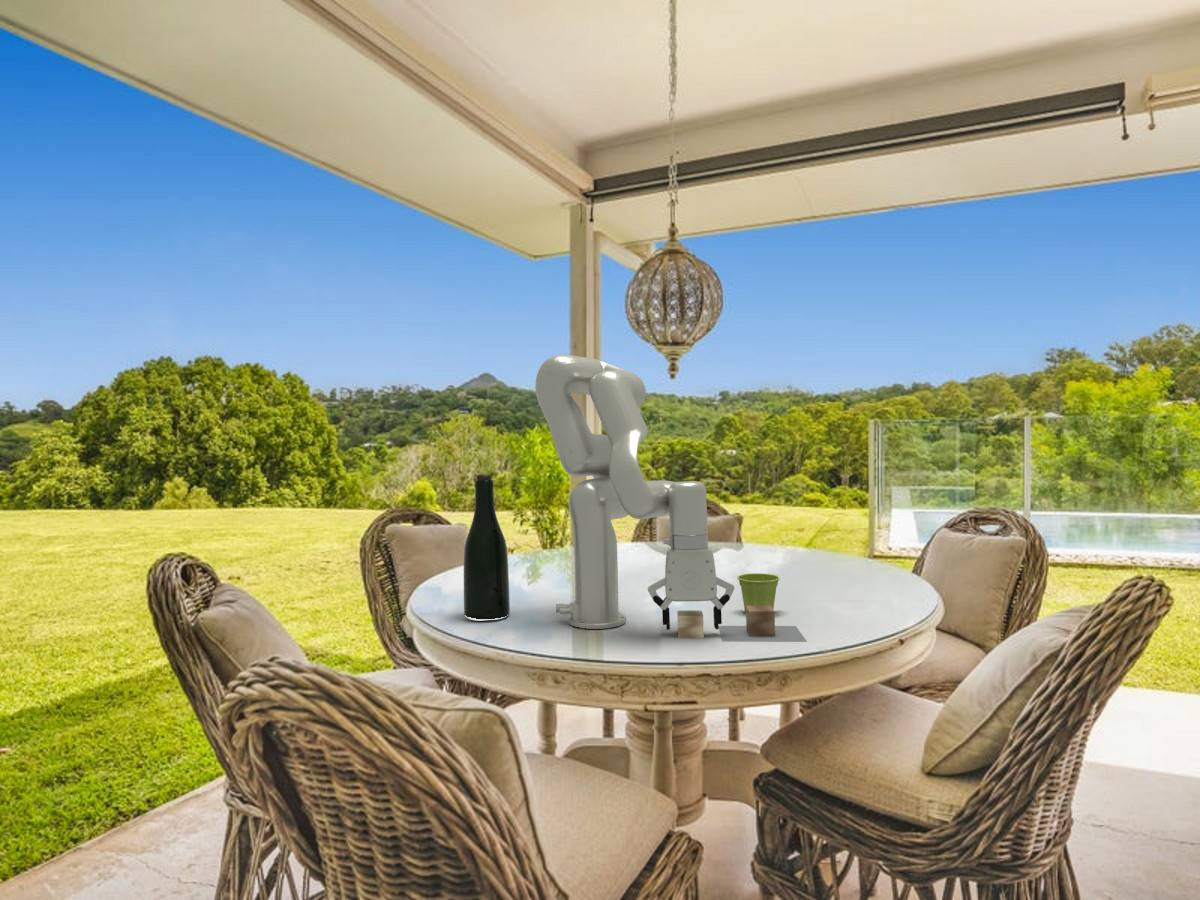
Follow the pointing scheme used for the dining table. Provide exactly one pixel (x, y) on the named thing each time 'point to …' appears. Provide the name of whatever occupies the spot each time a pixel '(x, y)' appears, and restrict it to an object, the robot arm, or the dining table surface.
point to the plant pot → (758, 589)
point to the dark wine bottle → (485, 559)
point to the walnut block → (760, 621)
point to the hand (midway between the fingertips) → (692, 628)
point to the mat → (742, 636)
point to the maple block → (690, 624)
